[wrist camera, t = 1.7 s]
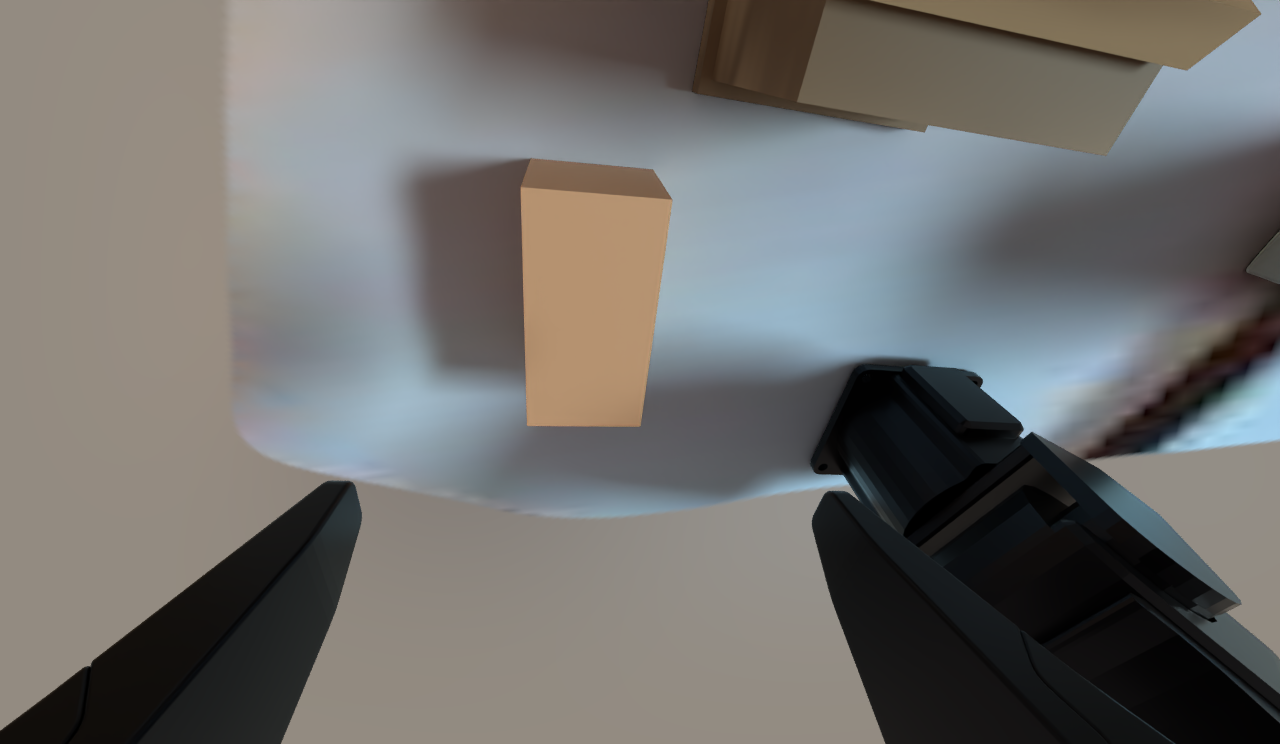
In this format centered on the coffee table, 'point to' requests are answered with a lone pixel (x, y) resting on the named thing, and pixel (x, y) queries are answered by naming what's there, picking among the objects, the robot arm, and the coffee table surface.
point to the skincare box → (1268, 261)
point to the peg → (590, 289)
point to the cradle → (961, 60)
